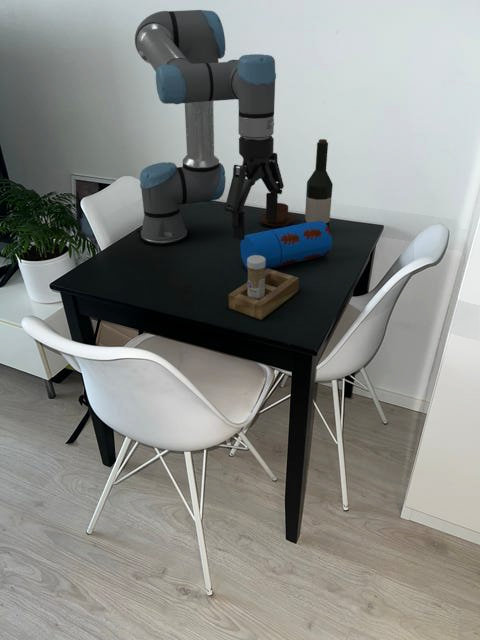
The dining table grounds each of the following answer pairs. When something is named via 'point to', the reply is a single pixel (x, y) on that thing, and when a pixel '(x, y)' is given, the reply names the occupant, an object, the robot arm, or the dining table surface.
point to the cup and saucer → (279, 217)
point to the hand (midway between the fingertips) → (255, 228)
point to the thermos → (288, 244)
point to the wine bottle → (319, 188)
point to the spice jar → (256, 276)
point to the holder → (275, 294)
